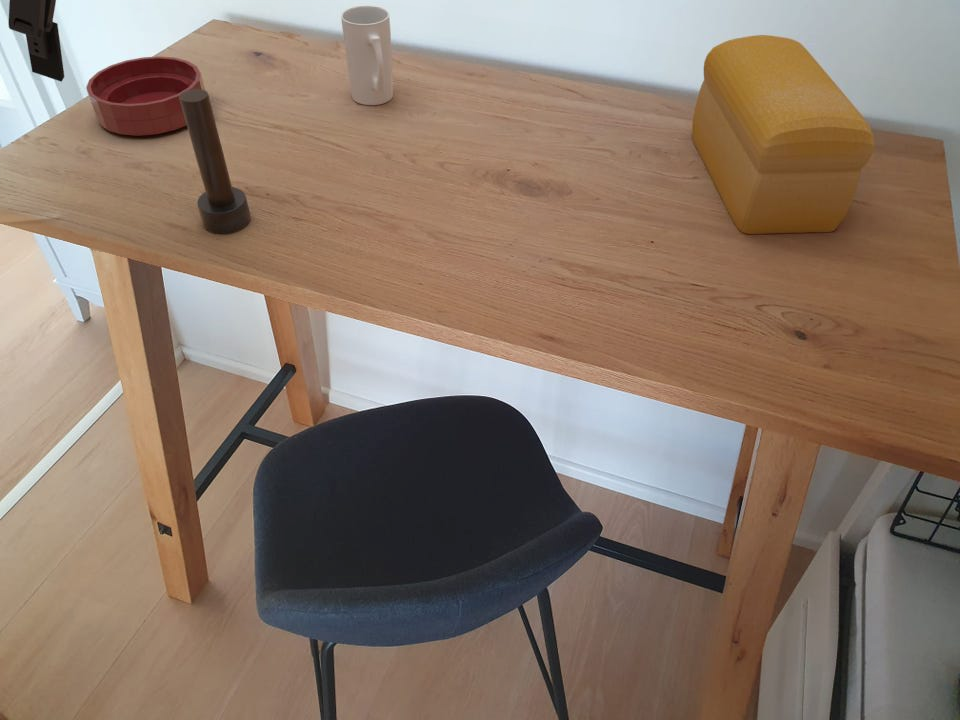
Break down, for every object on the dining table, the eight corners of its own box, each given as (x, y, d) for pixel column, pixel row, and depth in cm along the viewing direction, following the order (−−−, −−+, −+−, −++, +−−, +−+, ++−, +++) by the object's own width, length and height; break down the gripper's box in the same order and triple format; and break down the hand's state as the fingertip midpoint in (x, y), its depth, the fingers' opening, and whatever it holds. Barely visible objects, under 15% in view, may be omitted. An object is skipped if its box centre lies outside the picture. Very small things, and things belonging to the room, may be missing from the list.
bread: (842, 232, 92) (891, 117, 82) (737, 235, 92) (772, 119, 81) (775, 131, 109) (808, 25, 99) (686, 133, 109) (710, 26, 98)
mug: (345, 89, 117) (335, 9, 108) (387, 82, 119) (381, 2, 110) (362, 120, 110) (354, 36, 102) (407, 112, 112) (402, 29, 104)
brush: (201, 236, 90) (163, 109, 79) (205, 209, 94) (169, 85, 83) (249, 232, 91) (218, 105, 80) (251, 205, 95) (222, 81, 84)
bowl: (90, 143, 105) (76, 109, 101) (108, 92, 116) (97, 59, 112) (204, 135, 107) (195, 101, 103) (212, 85, 117) (204, 53, 114)
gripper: (38, -77, 56) (66, 127, 74) (150, -230, 69) (151, -26, 87) (-75, -120, 54) (-19, 99, 72) (61, -269, 67) (81, -52, 85)
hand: (74, 31), depth 79 cm, fingers open, 13 cm apart
